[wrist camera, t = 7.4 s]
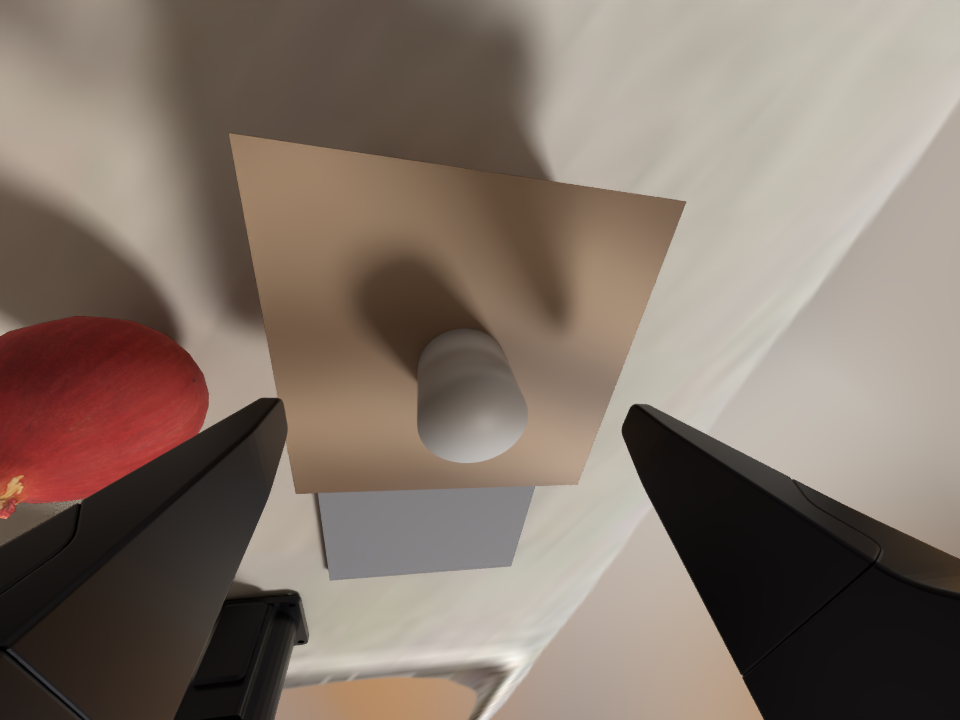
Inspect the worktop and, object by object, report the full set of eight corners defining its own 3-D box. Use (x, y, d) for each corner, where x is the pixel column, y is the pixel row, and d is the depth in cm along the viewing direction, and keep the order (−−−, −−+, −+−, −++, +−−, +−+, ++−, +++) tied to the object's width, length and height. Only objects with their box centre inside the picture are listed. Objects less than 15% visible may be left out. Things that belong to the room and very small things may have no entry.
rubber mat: (509, 558, 27) (510, 566, 26) (331, 571, 24) (329, 580, 24) (546, 430, 21) (549, 436, 20) (313, 429, 18) (310, 437, 18)
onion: (109, 402, 16) (-133, 590, 9) (55, 279, 13) (-356, 412, 6) (251, 407, 17) (136, 576, 10) (230, 295, 14) (51, 421, 7)
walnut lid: (567, 463, 16) (605, 542, 12) (305, 468, 13) (268, 566, 10) (660, 197, 10) (771, 214, 7) (252, 136, 8) (141, 120, 5)
